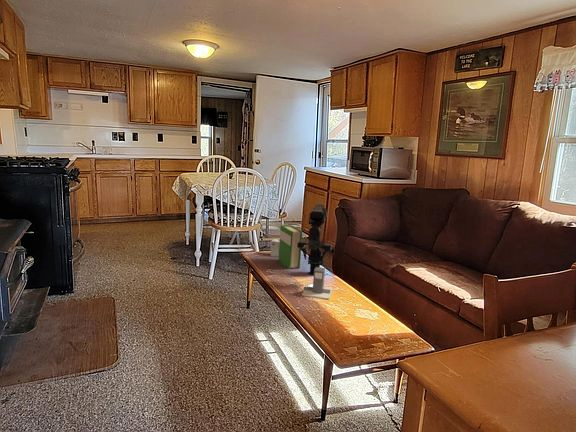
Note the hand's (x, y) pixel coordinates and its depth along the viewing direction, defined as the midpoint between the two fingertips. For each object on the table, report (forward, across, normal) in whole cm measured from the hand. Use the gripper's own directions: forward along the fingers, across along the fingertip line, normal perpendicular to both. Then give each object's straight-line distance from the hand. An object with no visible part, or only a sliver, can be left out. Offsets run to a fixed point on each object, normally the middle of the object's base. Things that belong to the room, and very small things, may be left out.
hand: (313, 260), depth 218 cm
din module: (+12, +5, -13) cm, 19 cm away
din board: (+13, +5, -13) cm, 19 cm away
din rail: (+13, +5, -13) cm, 19 cm away
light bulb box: (+13, -31, +45) cm, 56 cm away
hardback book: (+13, -20, +27) cm, 36 cm away
